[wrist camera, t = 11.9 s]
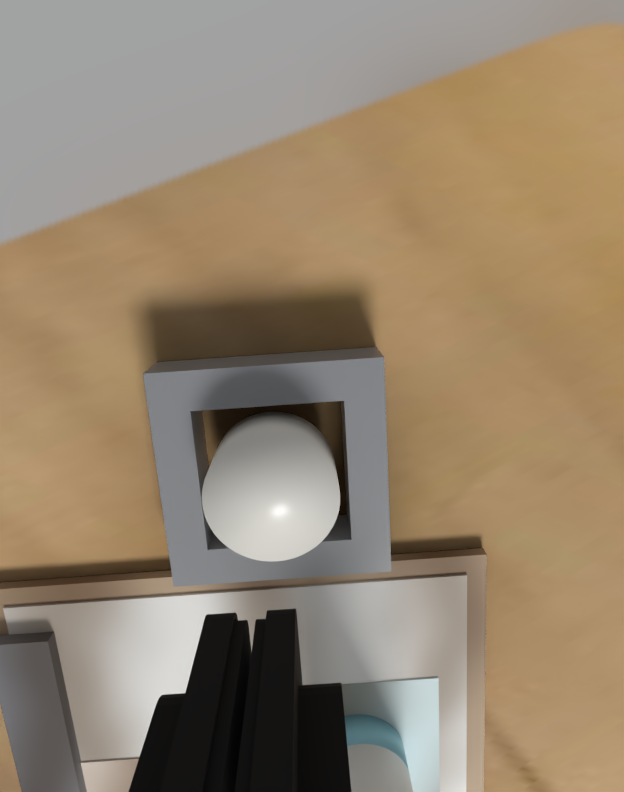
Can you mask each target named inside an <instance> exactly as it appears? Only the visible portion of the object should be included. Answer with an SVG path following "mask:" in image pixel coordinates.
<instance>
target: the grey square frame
mask: <svg viewBox="0 0 624 792" xmlns="http://www.w3.org/2000/svg"><path fill="white" fill-rule="evenodd" d="M143 378H144V385H145V392H146V399H147V406H148V413H149V419H150V426H151V433H152V440H153V447H154V454H155V461H156V468H157V475H158V482H159V489H160V496H161V503H162V510H163V517H164V524H165V531H166V538H167V545H168V552H169V559H170V565H171V572H172V579H173V586H174V587H179V586H193V585H207V584H221V583H235V582H249V581H263V580H277V579H291V578H305V577H319V576H333V575H347V574H361V573H375V572H389V571H391V544H390V515H389V486H388V456H387V427H386V397H385V368H384V356H383V355H382V354H381V353H380V351H379V350H378V349H377V347H368V348H354V349H339V350H325V351H310V352H296V353H281V354H267V355H252V356H238V357H223V358H209V359H194V360H180V361H165V362H157V363H156V364H154V365H153V366H152V367H151V368H149V369H148V370H147V371H146V372H144V373H143ZM333 401H341V415H342V433H343V451H344V470H345V488H346V506H347V515H338V516H337V519H336V521H335V524H334V526H333V528H332V529H331V531H330V532H329V534H328V535H327V536H326V537H325V539H324V540H323V541H322V542H321V543H320V544H318V545H317V546H316V547H315V548H313V549H312V550H310V551H309V552H307V553H305V554H303V555H301V556H298V557H296V558H293V559H289V560H284V561H272V562H268V561H259V560H254V559H250V558H247V557H245V556H242V555H240V554H238V553H236V552H234V551H233V550H231V549H230V548H228V547H227V546H226V545H224V544H223V543H222V542H221V541H220V540H219V539H218V538H217V537H216V536H215V534H214V533H213V531H212V530H211V528H210V526H209V525H208V523H207V520H206V518H205V515H204V511H203V506H202V488H203V484H204V480H205V477H206V475H207V472H208V470H209V467H208V458H207V450H206V441H205V433H204V425H203V416H202V411H203V410H218V409H232V408H246V407H261V406H275V405H290V404H304V403H318V402H333Z"/></svg>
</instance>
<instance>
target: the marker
mask: <svg viewBox="0 0 624 792" xmlns="http://www.w3.org/2000/svg"><path fill="white" fill-rule="evenodd" d="M345 727H346V738H347V749H348V760H349V771H350V781H351V792H413V788H412V783H411V778H410V774H409V769H408V764H407V760H406V755H405V750H404V746H403V742H402V739H401V737H400V735H399V734H398V732H397V731H396V730H395V728H394V727H393V726H391V725H390V724H389V723H387V722H386V721H384V720H382V719H380V718H377V717H374V716H370V715H349V716H345Z"/></svg>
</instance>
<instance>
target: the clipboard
mask: <svg viewBox="0 0 624 792" xmlns="http://www.w3.org/2000/svg"><path fill="white" fill-rule="evenodd" d="M486 571H487V554H486V553H485V551H484V549H483V548H477V549H463V550H449V551H435V552H421V553H407V554H393V555H391V571H389V572H375V573H361V574H347V575H333V576H319V577H305V578H291V579H277V580H263V581H249V582H235V583H221V584H207V585H193V586H179V587H174V586H173V579H172V572H171V570H168V571H154V572H140V573H126V574H112V575H98V576H84V577H70V578H56V579H42V580H28V581H14V582H0V704H1V709H2V713H3V717H4V721H5V725H6V729H7V733H8V737H9V741H10V745H11V749H12V753H13V757H14V762H15V766H16V770H17V774H18V778H19V782H20V786H21V790H22V792H129V789H130V785H131V782H132V779H133V776H134V773H135V770H136V766H137V763H138V760H139V757H140V754H141V751H142V748H143V744H144V741H145V738H146V735H147V732H148V729H149V726H150V722H151V719H152V716H153V713H154V710H155V707H156V704H157V702H158V699H159V698H160V696H161V695H166V694H181V693H185V692H186V688H187V685H188V681H189V677H190V673H191V669H192V665H193V662H194V658H195V654H196V650H197V646H198V642H199V638H200V635H201V631H202V627H203V623H204V619H205V616H206V615H207V614H221V613H236V614H237V617H238V621H239V620H247V621H248V625H249V633H250V642H251V652H252V645H253V637H254V629H255V621H256V619H266V614H267V610H280V609H295V608H296V612H297V623H298V635H299V647H300V659H301V671H302V683H303V685H313V684H328V683H341V685H342V694H343V705H344V716H349V715H370V716H374V717H377V718H380V719H382V720H384V721H386V722H387V723H389V724H390V725H391V726H393V727H394V728H395V730H396V731H397V732H398V734H399V735H400V737H401V739H402V742H403V746H404V750H405V755H406V760H407V764H408V769H409V774H410V778H411V783H412V788H413V792H484V721H485V646H486Z"/></svg>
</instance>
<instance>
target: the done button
mask: <svg viewBox="0 0 624 792" xmlns="http://www.w3.org/2000/svg"><path fill="white" fill-rule="evenodd" d="M202 506H203V511H204V515H205V518H206V520H207V523H208V525H209V526H210V528H211V530H212V531H213V533H214V534H215V536H216V537H217V538H218V539H219V540H220V541H221V542H222V543H223V544H224V545H226V546H227V547H228V548H230V549H231V550H233V551H234V552H236V553H238V554H240V555H242V556H245V557H247V558H250V559H254V560H259V561H268V562H272V561H284V560H289V559H293V558H296V557H298V556H301V555H303V554H305V553H307V552H309V551H310V550H312V549H313V548H315V547H316V546H317V545H318V544H320V543H321V542H322V541H323V540H324V539H325V537H326V536H327V535H328V534H329V532H330V531H331V529H332V528H333V526H334V524H335V521H336V519H337V516H338V513H339V507H340V489H339V483H338V477H337V471H336V465H335V459H334V455H333V452H332V449H331V447H330V445H329V443H328V441H327V440H326V438H325V437H324V435H323V434H322V433H321V432H320V431H319V430H318V429H317V428H316V427H315V426H314V425H313V424H311V423H310V422H308V421H307V420H305V419H303V418H301V417H299V416H296V415H293V414H289V413H285V412H263V413H258V414H255V415H252V416H249V417H247V418H245V419H243V420H241V421H239V422H238V423H237V424H235V425H234V426H233V427H232V428H231V429H230V430H229V431H228V432H227V433H226V434H225V435H224V437H223V438H222V440H221V441H220V443H219V445H218V447H217V450H216V452H215V455H214V457H213V460H212V462H211V465H210V467H209V470H208V472H207V475H206V477H205V480H204V484H203V488H202Z"/></svg>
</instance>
